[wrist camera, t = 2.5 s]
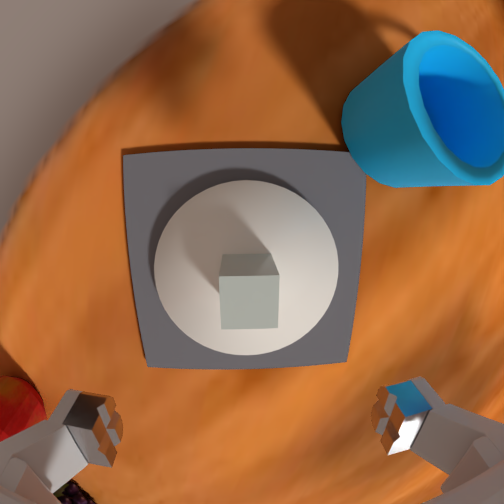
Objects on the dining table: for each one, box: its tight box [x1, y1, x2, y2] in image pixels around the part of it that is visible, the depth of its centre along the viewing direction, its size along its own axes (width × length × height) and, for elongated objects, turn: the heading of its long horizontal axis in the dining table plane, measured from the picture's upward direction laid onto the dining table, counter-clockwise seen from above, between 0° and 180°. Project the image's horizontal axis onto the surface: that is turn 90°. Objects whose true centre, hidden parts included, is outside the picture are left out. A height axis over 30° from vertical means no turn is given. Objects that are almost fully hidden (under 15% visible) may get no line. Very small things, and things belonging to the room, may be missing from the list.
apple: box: [0, 376, 47, 442], centre depth 18 cm, size 9×8×12 cm
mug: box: [341, 31, 504, 188], centre depth 14 cm, size 12×8×8 cm
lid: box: [154, 180, 338, 355], centre depth 18 cm, size 12×12×5 cm
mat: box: [123, 148, 366, 369], centre depth 20 cm, size 16×16×1 cm
